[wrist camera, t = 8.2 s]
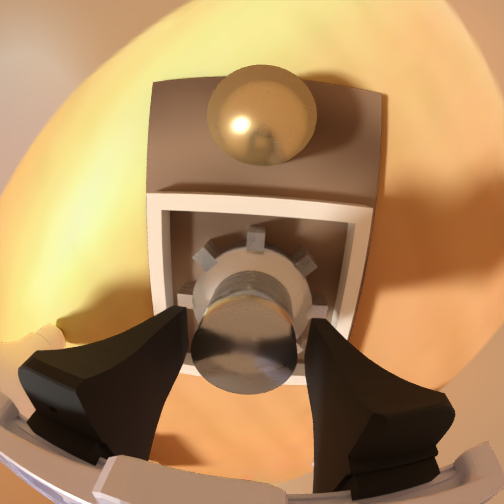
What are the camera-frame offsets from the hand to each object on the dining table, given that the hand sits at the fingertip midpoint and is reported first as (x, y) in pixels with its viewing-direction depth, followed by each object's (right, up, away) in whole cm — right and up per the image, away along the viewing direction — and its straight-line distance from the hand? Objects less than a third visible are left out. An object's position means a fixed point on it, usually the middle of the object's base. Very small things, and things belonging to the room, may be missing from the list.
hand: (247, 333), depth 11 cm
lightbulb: (-16, -3, +7) cm, 18 cm away
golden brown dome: (+1, +10, +1) cm, 10 cm away
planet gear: (0, +1, +3) cm, 4 cm away
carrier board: (0, +4, +3) cm, 5 cm away
